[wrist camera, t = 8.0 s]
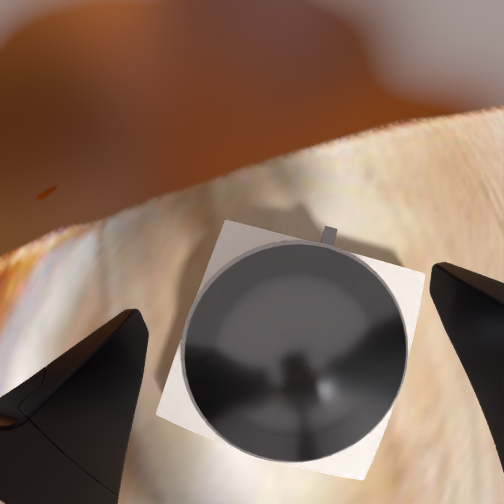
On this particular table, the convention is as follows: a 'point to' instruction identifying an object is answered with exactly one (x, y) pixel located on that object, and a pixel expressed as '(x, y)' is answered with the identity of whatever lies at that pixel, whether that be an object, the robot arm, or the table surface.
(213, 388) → the steel weight
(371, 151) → the table surface
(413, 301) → the base
